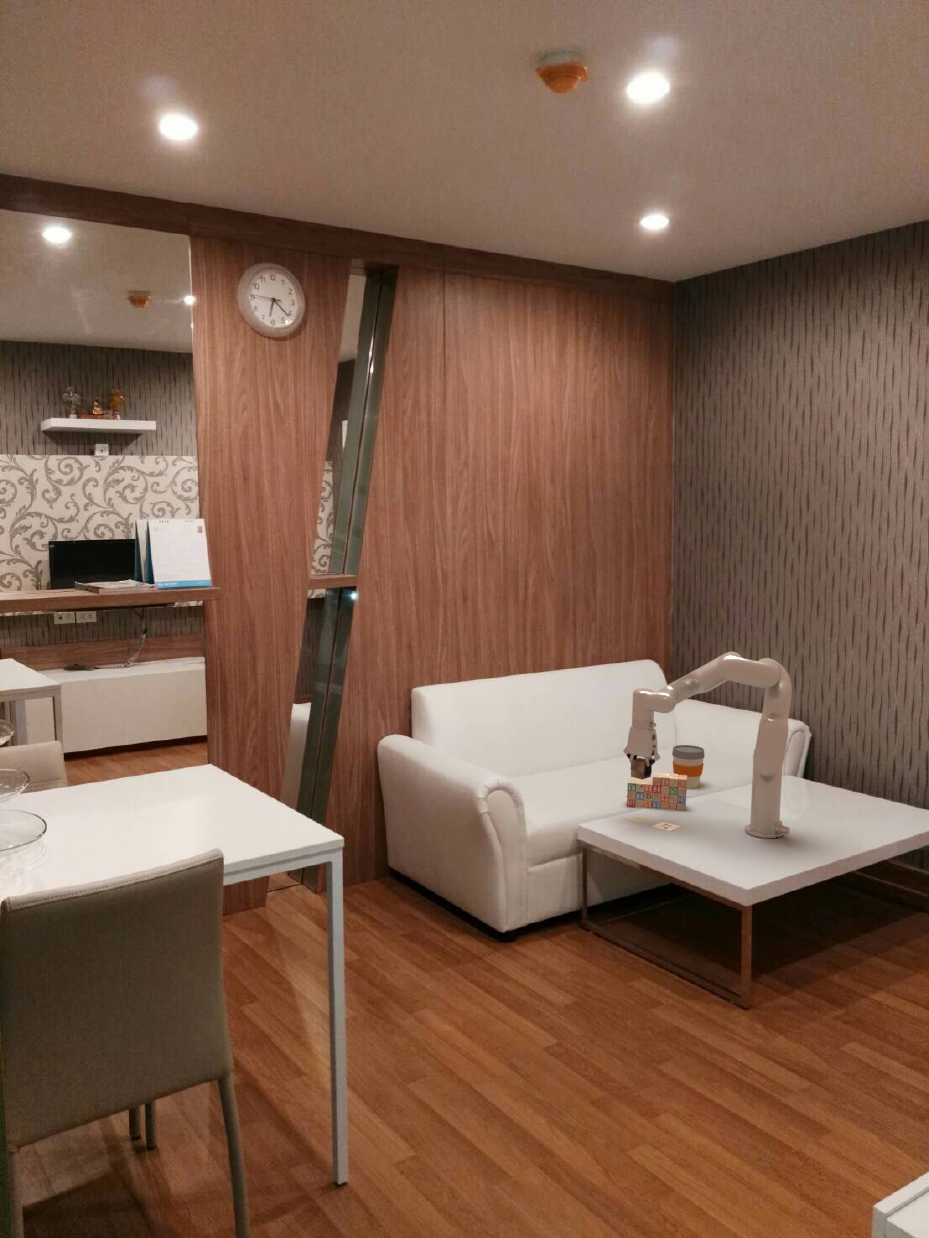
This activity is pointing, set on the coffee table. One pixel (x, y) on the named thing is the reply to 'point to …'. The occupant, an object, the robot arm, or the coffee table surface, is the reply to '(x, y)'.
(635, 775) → the walnut block
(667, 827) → the mat
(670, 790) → the stack of blocks
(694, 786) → the reusable coffee cup
